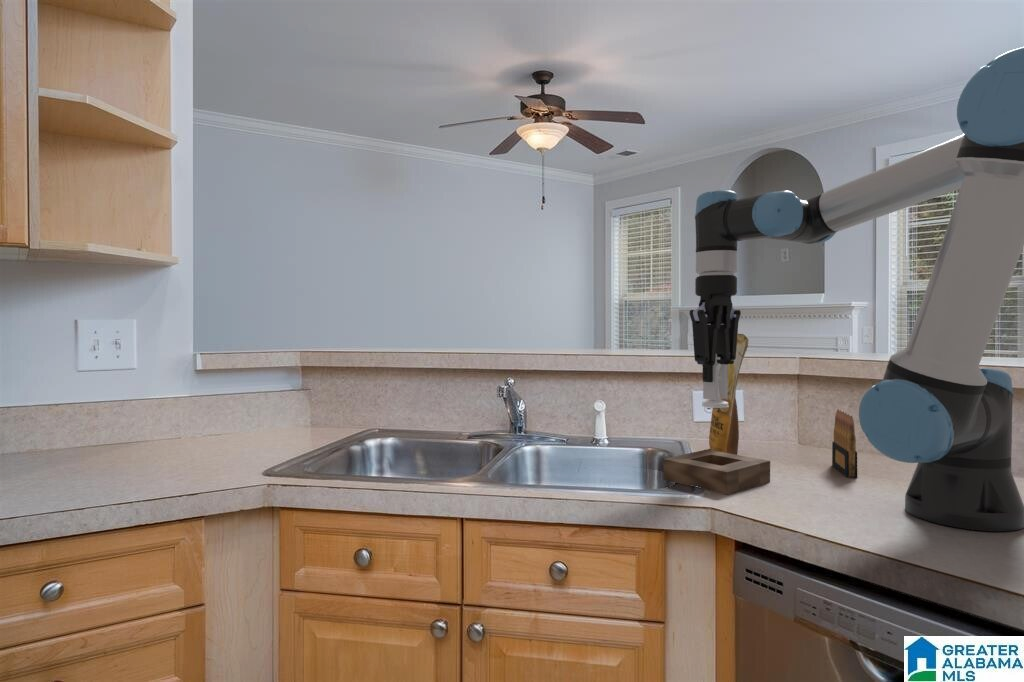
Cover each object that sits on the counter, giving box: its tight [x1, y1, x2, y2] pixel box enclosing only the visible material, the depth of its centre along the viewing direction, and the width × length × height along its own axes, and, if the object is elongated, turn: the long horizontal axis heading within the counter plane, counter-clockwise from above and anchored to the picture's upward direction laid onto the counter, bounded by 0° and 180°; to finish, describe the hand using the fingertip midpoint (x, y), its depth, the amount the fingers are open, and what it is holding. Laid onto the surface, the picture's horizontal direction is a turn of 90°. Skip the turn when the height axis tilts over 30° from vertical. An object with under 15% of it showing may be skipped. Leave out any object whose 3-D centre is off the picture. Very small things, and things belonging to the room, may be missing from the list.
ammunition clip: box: [831, 409, 858, 479], centre depth 126 cm, size 11×2×12 cm, turn 167°
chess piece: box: [701, 354, 729, 409], centre depth 120 cm, size 5×5×10 cm
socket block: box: [662, 449, 771, 496], centre depth 120 cm, size 14×14×4 cm
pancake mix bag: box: [708, 333, 749, 455], centre depth 144 cm, size 7×19×28 cm, turn 170°
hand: (715, 398), depth 120 cm, fingers closed on chess piece, 2 cm apart
